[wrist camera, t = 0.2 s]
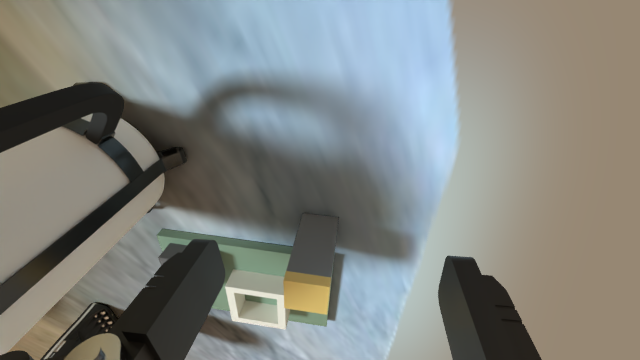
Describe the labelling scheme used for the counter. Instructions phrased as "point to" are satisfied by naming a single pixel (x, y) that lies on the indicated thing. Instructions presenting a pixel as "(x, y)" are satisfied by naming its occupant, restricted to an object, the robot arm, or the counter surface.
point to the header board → (247, 279)
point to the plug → (311, 264)
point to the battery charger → (83, 329)
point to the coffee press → (67, 195)
